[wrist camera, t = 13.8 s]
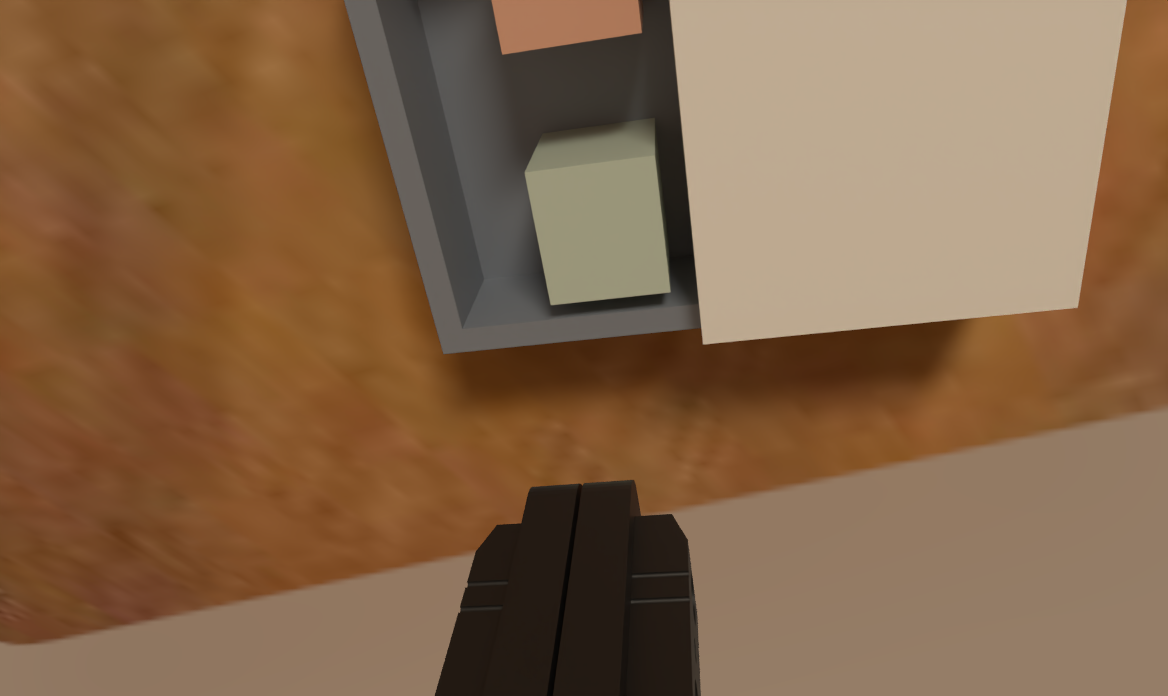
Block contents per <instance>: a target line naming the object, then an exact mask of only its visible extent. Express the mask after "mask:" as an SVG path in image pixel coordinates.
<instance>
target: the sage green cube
mask: <svg viewBox="0 0 1168 696" xmlns="http://www.w3.org/2000/svg"><path fill="white" fill-rule="evenodd" d="M525 178H526V183H527V188H528V193H529V198H530V203H531V208H532V213H533V218H534V223H535V228H536V233H537V238H538V243H539V248H540V253H541V258H542V264H543V269H544V274H545V279H546V284H547V289H548V294H549V299H550V304H551V305H558V304H567V303H576V302H586V301H595V300H604V299H613V298H623V297H632V296H641V295H650V294H660V293H669V292H671V290H670V265H669V240H668V231H667V222H666V213H665V204H664V195H663V187H662V178H661V169H660V160H659V151H658V142H657V133H656V124H655V118H649V119H642V120H635V121H628V122H621V123H614V124H607V125H599V126H592V127H585V128H578V129H571V130H564V131H557V132H549V133H543V134H542V136H541V138H540V140H539V142H538V145H537V147H536V149H535V151H534V153H533V155H532V157H531V160H530V162H529V164H528V166H527V168H526V170H525Z"/></svg>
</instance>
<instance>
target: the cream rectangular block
mask: <svg viewBox="0 0 1168 696" xmlns="http://www.w3.org/2000/svg"><path fill="white" fill-rule="evenodd" d="M1126 2H1127V0H669V8H670V18H671V28H672V39H673V49H674V59H675V69H676V80H677V90H678V100H679V110H680V120H681V131H682V141H683V151H684V161H685V171H686V182H687V192H688V202H689V212H690V223H691V233H692V243H693V253H694V263H695V272H696V281H697V290H698V300H699V309H700V320H701V330H702V339H703V344H713V343H723V342H734V341H744V340H754V339H764V338H774V337H784V336H795V335H805V334H815V333H825V332H835V331H845V330H856V329H866V328H876V327H886V326H896V325H906V324H917V323H927V322H937V321H947V320H957V319H967V318H978V317H988V316H998V315H1008V314H1018V313H1028V312H1038V311H1049V310H1059V309H1069V308H1078V302H1079V295H1080V289H1081V283H1082V277H1083V271H1084V264H1085V258H1086V252H1087V246H1088V239H1089V233H1090V227H1091V221H1092V214H1093V208H1094V202H1095V196H1096V189H1097V183H1098V177H1099V171H1100V165H1101V158H1102V152H1103V146H1104V140H1105V133H1106V127H1107V121H1108V115H1109V108H1110V102H1111V96H1112V90H1113V84H1114V77H1115V71H1116V65H1117V59H1118V52H1119V46H1120V40H1121V34H1122V27H1123V21H1124V15H1125V9H1126Z"/></svg>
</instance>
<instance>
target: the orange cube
mask: <svg viewBox="0 0 1168 696" xmlns="http://www.w3.org/2000/svg"><path fill="white" fill-rule="evenodd" d="M492 6H493V11H494V16H495V21H496V26H497V31H498V36H499V41H500V46H501V51H502V55H503V54H510V53H516V52H523V51H529V50H535V49H542V48H548V47H555V46H561V45H568V44H574V43H580V42H587V41H593V40H600V39H606V38H613V37H619V36H625V35H632V34H638V33H642V25H643V14H644V10H643V1H642V0H492Z"/></svg>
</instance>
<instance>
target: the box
mask: <svg viewBox="0 0 1168 696" xmlns="http://www.w3.org/2000/svg"><path fill="white" fill-rule="evenodd" d="M642 1H643V10H644V14H643V25H642V33H638V34H632V35H625V36H619V37H613V38H606V39H600V40H593V41H587V42H580V43H574V44H568V45H561V46H555V47H548V48H542V49H535V50H529V51H523V52H516V53H510V54H503V55H502V51H501V46H500V41H499V36H498V31H497V26H496V21H495V16H494V11H493V6H492V0H344V2H345V5H346V9H347V12H348V16H349V19H350V23H351V27H352V30H353V34H354V37H355V41H356V44H357V48H358V51H359V55H360V59H361V62H362V66H363V69H364V73H365V76H366V80H367V83H368V87H369V91H370V94H371V98H372V101H373V105H374V108H375V112H376V116H377V119H378V123H379V126H380V130H381V133H382V137H383V140H384V144H385V148H386V151H387V155H388V158H389V162H390V165H391V169H392V172H393V176H394V180H395V183H396V187H397V190H398V194H399V197H400V201H401V205H402V208H403V212H404V215H405V219H406V222H407V226H408V229H409V233H410V237H411V240H412V244H413V247H414V251H415V254H416V258H417V261H418V265H419V269H420V272H421V276H422V279H423V283H424V286H425V290H426V293H427V297H428V301H429V304H430V308H431V311H432V315H433V318H434V322H435V326H436V329H437V333H438V336H439V340H440V343H441V347H442V350H443V354H450V353H459V352H469V351H479V350H489V349H499V348H509V347H519V346H528V345H538V344H548V343H558V342H568V341H578V340H588V339H597V338H607V337H617V336H627V335H637V334H647V333H657V332H667V331H676V330H686V329H696V328H701V320H700V309H699V300H698V290H697V281H696V272H695V263H694V253H693V243H692V233H691V223H690V212H689V202H688V192H687V182H686V171H685V161H684V151H683V141H682V131H681V120H680V110H679V100H678V90H677V80H676V69H675V59H674V49H673V39H672V28H671V18H670V8H669V0H642ZM649 118H655V124H656V133H657V142H658V151H659V160H660V169H661V178H662V187H663V195H664V204H665V213H666V222H667V231H668V240H669V265H670V290H671V292H669V293H660V294H650V295H641V296H632V297H623V298H613V299H604V300H595V301H586V302H576V303H567V304H558V305H551V304H550V299H549V294H548V289H547V284H546V279H545V274H544V269H543V264H542V258H541V253H540V248H539V243H538V238H537V233H536V228H535V223H534V218H533V213H532V208H531V203H530V198H529V193H528V188H527V183H526V178H525V170H526V168H527V166H528V164H529V162H530V160H531V157H532V155H533V153H534V151H535V149H536V147H537V145H538V142H539V140H540V138H541V136H542V134H543V133H549V132H557V131H564V130H571V129H578V128H585V127H592V126H599V125H607V124H614V123H621V122H628V121H635V120H642V119H649Z"/></svg>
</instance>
